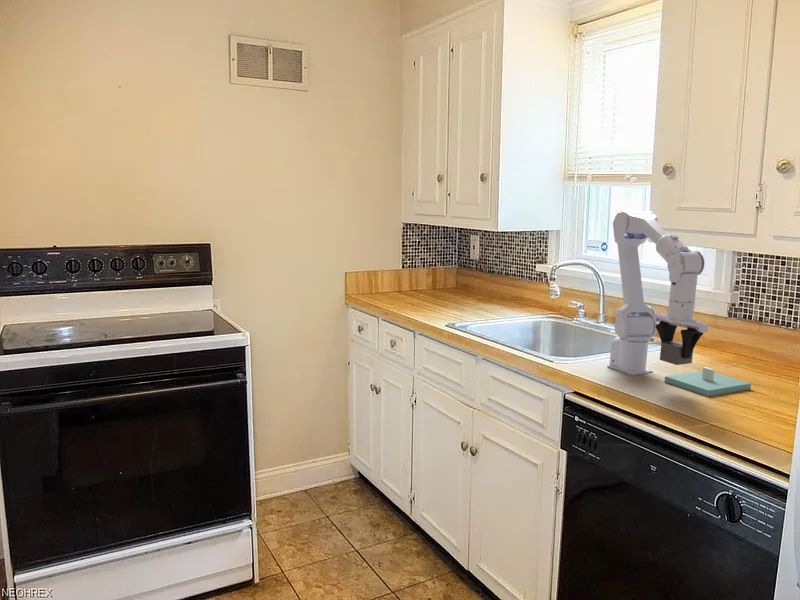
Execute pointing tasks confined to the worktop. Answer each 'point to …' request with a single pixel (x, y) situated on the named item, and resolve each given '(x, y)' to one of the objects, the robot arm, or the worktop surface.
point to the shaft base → (707, 382)
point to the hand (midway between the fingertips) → (676, 355)
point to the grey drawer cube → (673, 353)
